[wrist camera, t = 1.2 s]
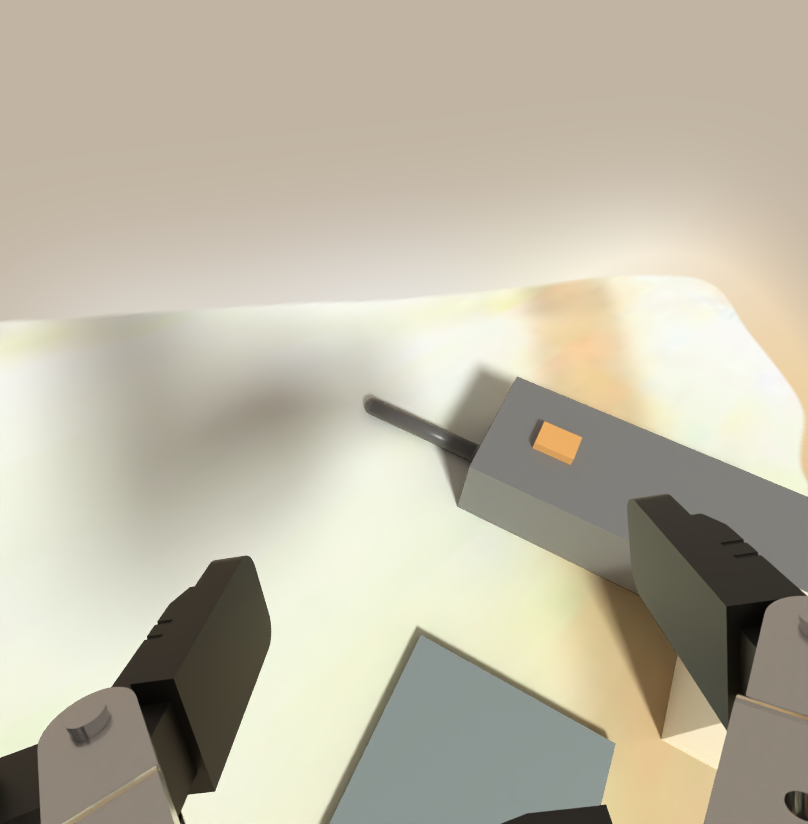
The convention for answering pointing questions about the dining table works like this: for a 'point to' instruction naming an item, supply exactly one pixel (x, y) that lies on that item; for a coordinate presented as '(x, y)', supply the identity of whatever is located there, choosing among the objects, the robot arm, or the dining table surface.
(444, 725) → the mat
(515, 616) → the dining table surface
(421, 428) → the socket strip
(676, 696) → the plug
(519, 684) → the dining table surface
